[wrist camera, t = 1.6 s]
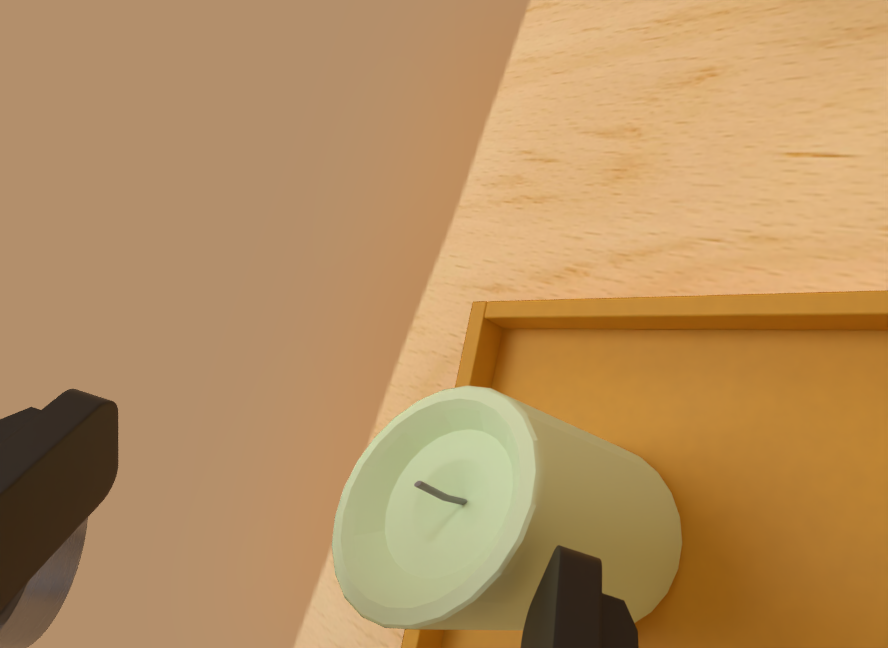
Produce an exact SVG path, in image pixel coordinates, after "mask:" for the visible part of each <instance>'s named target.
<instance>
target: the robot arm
mask: <svg viewBox="0 0 888 648" xmlns="http://www.w3.org/2000/svg"><path fill="white" fill-rule="evenodd" d="M117 470H118V408H117V405H116V404H115V403H114V402H113V401H110V400H107V399H104V398H101V397H98V396H94V395H92V394H89V393H85V392H82V391H79V390H76V389H69V390H67V391H65V392H64V393H62V394H61V395H60V396H58V397H57V398H56V399H55V400H53V401H52V402H51V403H50V404H48V405H47V406H46V407H45V408H44V409H42V410H39V409H36V408H33V407H30V408H28V409H25V410H23V411H20V412H18V413H15V414H13V415H10V416H8V417H5V418H3V419H0V611H1V610H2V609H3V608H4V607H5V606H6V605H7V604H8V603H9V602H10V601H11V599H12V598H13V597H14V596H15V595H16V594H17V593H18V592H19V591H20V590H21V589H22V588H23V587H24V585H25V584H26V583H27V582H28V581H29V580H30V579H31V578H32V577H33V576H34V575H35V574H36V572H37V571H38V570H39V569H40V568H41V567H42V566H43V565H44V564H45V563H46V562H47V561H48V559H49V558H50V557H51V556H52V555H53V554H54V553H55V552H56V551H57V550H58V549H59V548H60V547H61V545H62V544H63V543H64V542H65V541H66V540H67V539H68V538H69V537H70V536H71V535H72V534H73V532H74V531H75V530H76V529H77V528H78V527H79V526H80V525H81V524H82V523H83V522H84V521H85V519H86V518H87V517H88V516H89V515H90V514H91V513H92V512H93V511H94V510H95V509H96V508H97V507H98V505H99V504H100V503H101V502H102V501H103V500H104V499H105V497H106V496H107V494H108V493H109V491H110V489H111V487H112V485H113V483H114V481H115V478H116V474H117ZM521 648H639V646H638V630H637V628H636V626H635V623H634V621H633V619H632V617H631V614H630V612H629V610H628V608H627V605H626V603H625V601H624V600H621V599H618V598H615V597H612V596H609V595H606V594H603V593H602V562H601V559H600V558H597V557H594V556H591V555H588V554H584V553H581V552H578V551H575V550H572V549H569V548H566V547H563V546H560V545H558V546H557V547H556V548H555V550H554V552H553V554H552V556H551V559H550V561H549V563H548V565H547V568H546V570H545V572H544V574H543V577H542V579H541V581H540V583H539V586H538V588H537V590H536V593H535V595H534V597H533V599H532V602H531V604H530V607H529V610H528V613H527V617H526V621H525V625H524V629H523V634H522V640H521Z"/></svg>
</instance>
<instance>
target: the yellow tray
mask: <svg viewBox="0 0 888 648" xmlns="http://www.w3.org/2000/svg"><path fill="white" fill-rule="evenodd" d="M462 386H476V387H485V388H491V389H493V390H496V391H498V392H500V393H502V394H504V395H507V396H509V397H511V398H513V399H515V400H518V401H520V402H522V403H524V404H526V405H529V406H531V407H533V408H535V409H537V410H540V411H542V412H544V413H546V414H548V415H551V416H553V417H555V418H557V419H559V420H562V421H564V422H566V423H568V424H570V425H573V426H575V427H577V428H579V429H581V430H584V431H586V432H588V433H590V434H592V435H595V436H597V437H599V438H601V439H603V440H606V441H608V442H610V443H612V444H614V445H617V446H619V447H621V448H623V449H625V450H627V451H629V452H631V453H633V454H635V455H638V456H640V457H641V458H642V459H643V460H644V461H646V462H647V463H648V464H649V465H650V466H651V467H652V468H654V469H655V470H656V471H657V472H658V473H659V475H660V476H661V478H662V479H663V481H664V482H665V484H666V485H667V487H668V488H669V490H670V491H671V493H672V496H673V499H674V501H675V504H676V507H677V510H678V513H679V516H680V523H681V534H682V548H681V554H680V560H679V566H678V571H677V573H676V575H675V577H674V579H673V582H672V584H671V586H670V588H669V591H668V593H667V594H666V595H665V596H664V598H663V599H662V600H661V601H660V602H659V604H658V605H657V606H656V607H655V608H654V610H653V611H652V612H651V613H649V614H648V615H646V616H645V617H643V618H642V619H640V620H638V621H637V622H635V626H636V628H637V630H638V646H639V648H888V291H853V292H816V293H779V294H743V295H706V296H669V297H633V298H596V299H559V300H522V301H489V302H487V301H479V302H473V303H472V308H471V313H470V318H469V323H468V327H467V332H466V337H465V342H464V347H463V351H462V356H461V361H460V366H459V371H458V376H457V380H456V385H455V388H456V387H462ZM522 634H523V630H433V629H405V631H404V636H403V641H402V646H401V648H521V640H522Z"/></svg>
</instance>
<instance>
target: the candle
mask: <svg viewBox="0 0 888 648" xmlns="http://www.w3.org/2000/svg"><path fill="white" fill-rule="evenodd" d="M558 545H560V546H563V547H566V548H569V549H572V550H575V551H578V552H581V553H584V554H588V555H591V556H594V557H597V558H600V559H601V562H602V593H603V594H606V595H609V596H612V597H615V598H618V599H621V600H624V601H625V603H626V605H627V608H628V610H629V612H630V614H631V617H632V619H633V621H634V623H635V622H637V621H638V620H640V619H642V618H643V617H645V616H646V615H648V614H649V613H651V612H652V611H653V610H654V608H655V607H656V606H657V605H658V604H659V602H660V601H661V600H662V599H663V598H664V596H665V595H666V594H667V593H668V591H669V588H670V586H671V584H672V582H673V579H674V577H675V575H676V573H677V571H678V566H679V560H680V554H681V548H682V534H681V523H680V516H679V513H678V510H677V507H676V504H675V501H674V499H673V496H672V493H671V491H670V490H669V488H668V487H667V485H666V484H665V482H664V481H663V479H662V478H661V476H660V475H659V473H658V472H657V471H656V470H655V469H654V468H652V467H651V466H650V465H649V464H648V463H647V462H646V461H644V460H643V459H642V458H641V457H640V456H638V455H635V454H633V453H631V452H629V451H627V450H625V449H623V448H621V447H619V446H617V445H614V444H612V443H610V442H608V441H606V440H603V439H601V438H599V437H597V436H595V435H592V434H590V433H588V432H586V431H584V430H581V429H579V428H577V427H575V426H573V425H570V424H568V423H566V422H564V421H562V420H559V419H557V418H555V417H553V416H551V415H548V414H546V413H544V412H542V411H540V410H537V409H535V408H533V407H531V406H529V405H526V404H524V403H522V402H520V401H518V400H515V399H513V398H511V397H509V396H507V395H504V394H502V393H500V392H498V391H496V390H493V389H491V388H485V387H476V386H462V387H456V388H451V389H445V390H442V391H440V392H437V393H435V394H433V395H430V396H428V397H426V398H423V399H421V400H419V401H418V402H416V403H415V404H413V405H412V406H410V407H409V408H408V409H406V410H405V411H403V412H402V413H400V414H399V415H397V416H396V417H395V418H394V419H393V420H392V421H391V422H390V423H389V424H388V425H387V426H386V427H385V428H384V429H383V430H382V431H381V432H380V433H379V434H378V435H377V436H376V437H375V438H374V439H373V440H372V442H371V443H370V445H369V446H368V447H367V449H366V450H365V452H364V453H363V454H362V456H361V457H360V458H359V460H358V461H357V463H356V466H355V467H354V469H353V471H352V473H351V475H350V477H349V479H348V481H347V483H346V485H345V487H344V489H343V493H342V496H341V499H340V502H339V506H338V509H337V512H336V515H335V522H334V531H333V539H332V550H333V559H334V568H335V574H336V577H337V579H338V582H339V584H340V587H341V589H342V592H343V594H344V597H345V598H346V600H347V601H348V602H349V603H350V604H351V605H352V606H353V607H354V609H355V610H356V611H357V612H358V613H359V614H360V615H361V616H362V617H363V618H366V619H368V620H370V621H372V622H374V623H376V624H378V625H380V626H382V627H384V628H398V629H433V630H523V629H524V625H525V621H526V617H527V613H528V610H529V607H530V604H531V602H532V599H533V597H534V595H535V593H536V590H537V588H538V586H539V583H540V581H541V579H542V577H543V574H544V572H545V570H546V568H547V565H548V563H549V561H550V559H551V556H552V554H553V552H554V550H555V548H556V547H557V546H558Z"/></svg>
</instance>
